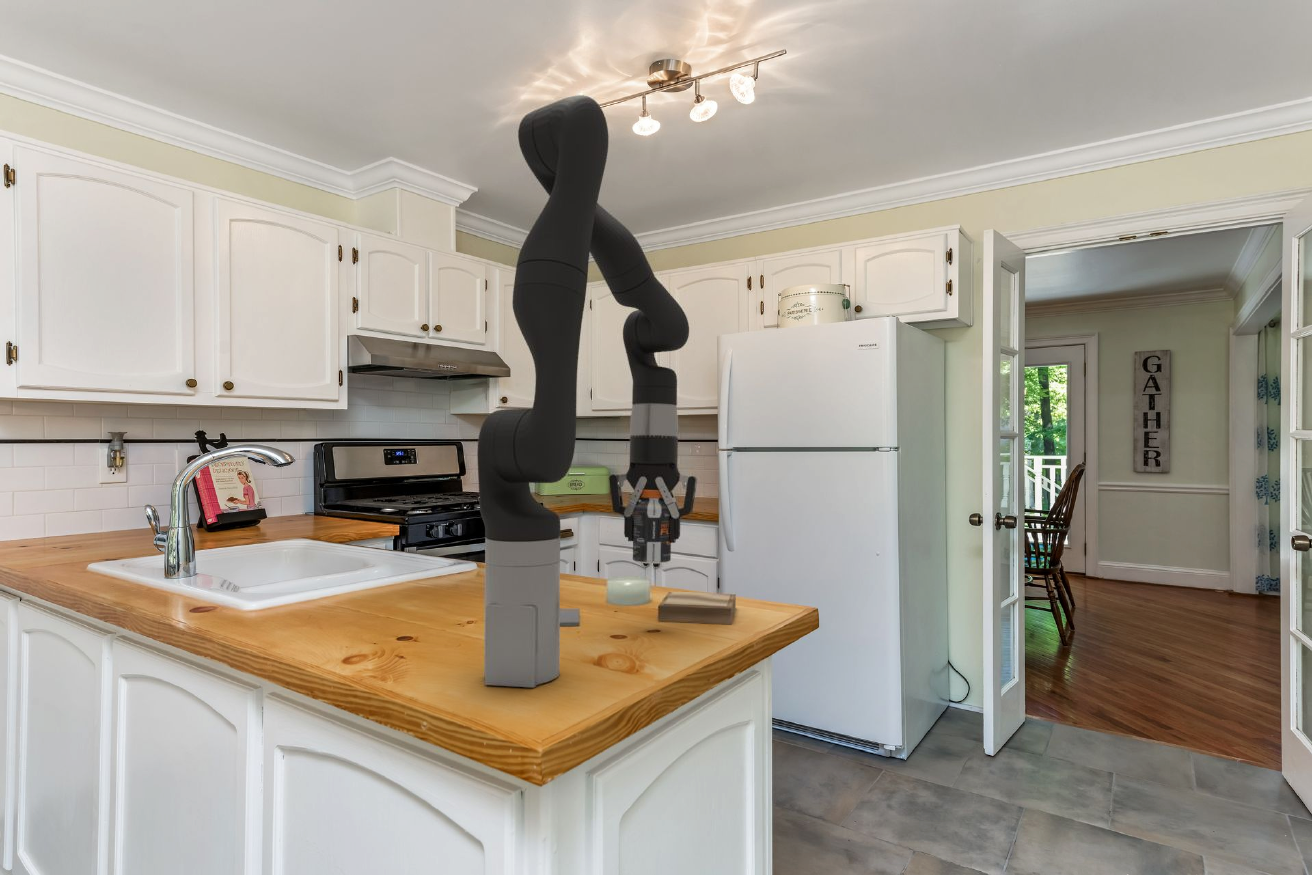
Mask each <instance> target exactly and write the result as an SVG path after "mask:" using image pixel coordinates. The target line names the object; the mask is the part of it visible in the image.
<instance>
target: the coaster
mask: <svg viewBox="0 0 1312 875" xmlns="http://www.w3.org/2000/svg"><path fill="white" fill-rule="evenodd" d="M579 626H580V608H560V627H579Z"/></svg>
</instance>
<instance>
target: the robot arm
mask: <svg viewBox="0 0 1312 875" xmlns="http://www.w3.org/2000/svg"><path fill="white" fill-rule="evenodd" d="M606 118H607V117H606V116H605V113H604V111H603V109H602V107H601V106H600V104H599V103H598V102H597V101H596V99H594V98H592V97H590V96H588V95H584V94H583V95H582V94H580V95H579V94H578V95H573V96H569V97H565V98H562V99H560V100H557V101H555V102H552V103H548V104H547V105H544V106H542V107H539V108H537V109H535V110H532V111H531V112H528V113H527V114H525V115H524V116H523V117H522V119H521V122H520V123H519V126H518V129H517V130H518V131H517V132H518V133H517V134H518V135H517V137H518V144H519V148H520V151H521V154H522V156H523V159H524V160H525V162H526V164H527V166H528V167H529V170H530V171H531V173H532V174H533V175H534V177H535V178H536V179H537V181H538V182H539V184H540V185H541V186H542V188H543V190H545V192H546V193H547V195H548V196H549V197H548V200H547V202H546V203H545V205H544V207H543V209H542V211H541V212H540V214H539V215H538V217H537V218H536V220H535V223H533V225H532V227H531V229H530V231H529V233H528V234H527V236H526V237H525V239H524V242H523V244H522V246H521V248H520V251H519V254H518V256H517V262H516V268H515V275H514V281H513V282H514V283H513V289H512V290H513V291H512V309H513V313H514V317H515V321H516V323H517V325H518V327H519V330H520V333H521V335H522V336H523V339H524V341H525V343H526V345H527V347H528V349H529V351H530V354H531V357H532V360H533V364H534V371H535V372H534V373H535V386H534V388H535V389H534V390H535V391H534V399H533V405H532V408H509V409H508V408H507V409H497V410H496V411H493V412H492V413H490V414H488V415H487V417H486V418H485V419H484V421H483V423H482V425H481V427H480V431H479V434H478V440H477V455H476V456H477V476H478V479H477V480H478V499H479V500H478V502H479V512H480V515H481V518H482V521H483V524H484V530H485V531H484V532H485V534H484V535H485V536H484V537H485V538H484V539H485V540H484V541H485V542H484V549H485V550H484V552H485V553H484V554H485V555H484V557H485V558H484V559H485V560H484V633H483V634H484V643H483V644H484V646H483V647H484V650H483V651H484V653H483V654H484V655H483V656H484V658H483V660H484V666H483V667H484V670H483V671H484V673H483V675H484V685H487V686H501V687H504V686H505V687H517V688H520V687H522V688H536V687H537V686H538V685H541V684H545V683H548V682H550V681H553V680H555V679H557V677H559V675H560V651H561V650H560V642H561V641H560V640H561V639H560V637H561V635H560V634H561V633H560V631H561V630H560V629H561V628H560V627H561V626H560V609H561V607H560V605H561V604H560V600H561V599H560V598H561V592H560V591H561V590H560V589H561V588H560V586H561V584H560V583H561V578H560V577H561V518H560V516H559V515H558V513H556V512H555V511H554V510H551V509H549V508H547V507H546V506H544V505H543V504H541V503H540V502H539V501H538V500H536V498H535V497H534V495H532V491H531V487H530V483H531V484H533V483H534V484H553V483H558V482H559V481H561V480H562V479H563V478H564V477H566V476H567V474H568V472H569V471H570V468H571V466H572V463H573V460H574V456H575V448H576V439H577V438H576V437H577V393H578V392H577V390H578V389H577V386H578V369H579V368H578V367H579V352H580V342H581V332H582V323H583V318H584V310H585V303H586V297H587V296H586V295H587V288H588V287H587V285H588V276H589V275H588V273H589V264H590V263H589V261H590V255H591V256H592V259H593V260H594V262H595V263H596V265H597V267H598V269H599V271H600V273H601V276H602V277H603V279H604V281H605V283H606V284H607V287H608V289H609V290H610V293H611V294H612V296H613V298H614V299H615V301H616V303H618V304H619V305H620V306H623V307H627V308H633V309H635V310H633V311H632V312H630V313H629V315H628V316H627V317H626V318H625V321H624V323H623V327H622V340H623V345H624V348H625V354H626V357H627V362H628V366H629V370H630V374H631V379H632V394H631V395H632V396H631V397H632V399H631V400H632V401H631V404H632V405H631V412H630V420H629V421H630V424H629V425H630V426H629V468H628V470H627V472H626V473H623V474H610V475H609V477H608V480H609V488H610V489H609V491H610V498H611V504H612V506H611V507H612V511H613V512H614V513H617V514H620V515H621V516H623V520H624V525H623V529H624V530H623V535H624V537H625V538H627V541H628V542H633V525H634V508H635V506H636V504H637V503H639V502H640V501H641V494H642V492H643V490H660V492H661V495H662V497H663V499H664V501H665V503H666V505H667V507H668V509H669V511H670V513H671V519H670V543H671V544H675V543H676V542H677V540H679V539H680V536H681V518H682V517H684V516H687V515H690V514H692V513H693V511H694V510H693V509H694V505H695V504H694V503H695V496H696V491H697V485H698V478H697V476H694V475H690V476H689V475H684V474H681V473H680V470H679V468H678V467H679V466H678V461H679V460H678V459H679V458H678V456H679V454H678V453H679V452H678V451H679V450H678V448H679V447H678V445H679V432H680V430H679V415H678V407H677V405H678V404H677V403H678V378H677V373H676V371H675V370H674V369H672V368H669V367H666V366H660V365H658V363H657V360H656V357H655V354H656V353H664V352H675V351H678V350H680V349H682V348H683V347H684V346H685V345H686V344H687V341H688V340H689V337H690V326H689V325H690V324H689V320H688V317H687V315H686V314H685V312H684V310H683V308H682V307H681V306H680V304H679V303H678V301H677V300H676V299H675V298H674V297H673V296H672V295H671V293H670V292H669V290H667V289H666V288H665V286H664V285H663V284H662V283H661V282H660V281H659V280H658V279H657V277H656V276H655V274H654V271H653V269H652V267H651V264H650V263H649V261H648V259H647V257H646V255H645V252H644V250H643V249H642V247H641V245H640V243H639V241H638V240H637V238H636V237H635V236H634V235H633V233H632V232H631V231H630V230H629V229H628V228H627V227H626V226H625V225H624V224H622V222H621V221H619V220H618V219H617V218H616V217H614V216H613V215H612V214H611V213H610V212H608V211H607V210H606V209H605V208H604V207H602V205H600V203H598V200H599V195H600V191H601V186H602V183H603V177H604V173H605V169H606V164H607V159H608V153H609V138H610V137H609V128H608V122H607V120H606ZM626 481H627V482H628V483H629V485H630V486H631V488H632V490H633V492H632V494H631V495H630V497H629V500H628V504H627V505H624V501H623V500H624V499H623V494H622V489H623V488H624V487H625V484H626ZM680 482H681V485H682V488H683V489H684V490H685V496H684V501H683V507H681V508H680V507H679V505H678V502H677V499H676V497H675V495H674V493H673V490H674V489H675V487H676V486H677V485H678V483H680Z"/></svg>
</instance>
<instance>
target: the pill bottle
mask: <svg viewBox="0 0 1312 875" xmlns="http://www.w3.org/2000/svg"><path fill="white" fill-rule="evenodd" d="M671 518H672V515H671V513H670V511H669V509H668V507H667V505H666V503H665V501H664V499H663V497H662V495H661V492H660V490H643V492H642V494H641V501H640V502H639V503H637V504H636V506H635V508H634V525H633V541H632V560H633V561H634V562H636V563H640V564H642V563H643V564H667V563H669V562H670V561H671V560H672V559H671V558H672V557H671V555H672V554H671V553H672V543H670V519H671Z"/></svg>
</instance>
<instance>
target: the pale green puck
mask: <svg viewBox="0 0 1312 875" xmlns="http://www.w3.org/2000/svg"><path fill="white" fill-rule="evenodd" d="M606 602H607V604H610V605H613V606H622V607H623V606H624V607H625V606H626V607H627V606H629V607H631V606H641V605H645V604H649V603H650V602H651V579H650V578H647V577H642V576H617V577H616V576H615V577H611V578H608V579H606Z"/></svg>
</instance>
